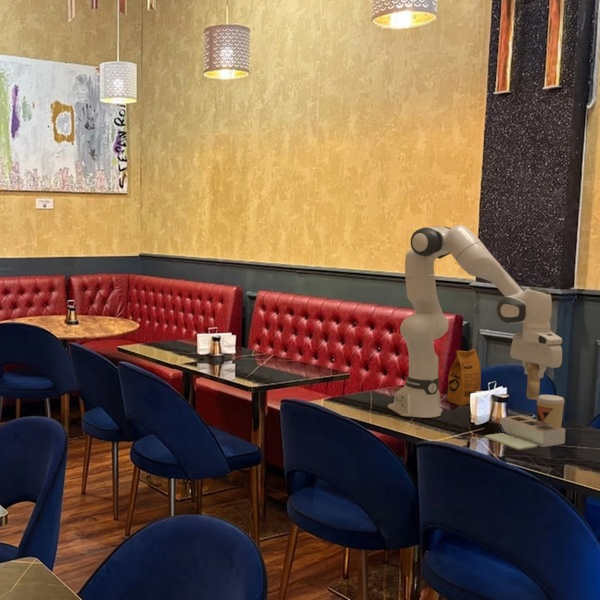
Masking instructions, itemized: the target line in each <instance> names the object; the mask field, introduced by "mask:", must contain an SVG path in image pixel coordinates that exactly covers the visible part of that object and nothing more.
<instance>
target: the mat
mask: <svg viewBox="0 0 600 600" xmlns="http://www.w3.org/2000/svg"><path fill="white" fill-rule="evenodd" d="M484 438H485V439H488V440H491V441H494V442H496V443H499V444H502V445H504V446H506V447H507V446H508V447H509V448H512V449H514V450H518V451H522V450H527V449H528V450H529V449H533V448H537V447H538V445H535V444H532V443H529V442H527V441H524V440H521V439H518V438H515V437H513V436H510V435H507V434H504V433H501V432H499V433H493V434H492V433H491V434H485V435H484Z"/></svg>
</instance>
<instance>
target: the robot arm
mask: <svg viewBox="0 0 600 600" xmlns="http://www.w3.org/2000/svg"><path fill="white" fill-rule="evenodd" d="M410 247H411V249H409V250H408V251H407V252H406V254H405V259H404V260H405V261H404V277H405V289H406V296H407V297H406V298H407V300H408V301H409V302H410V303H411V305H412V308H413V310H414V313H413V314H411V315H409V316H408V317H406V318H405V319H404V320H403V321H402V322H401V324H400V328H399V331H400V335H401V337H402V338H403V339H404V341H405V343H406V344H405V345H406V348H407V353H408V359H409V360H408V376H405V377H404V379H403V380H404V381H405V385H403V387H401V388H400V389H398V390H397V391H396V392H395V393H394V396H393V397H394V398H393V403H389V404H387V408H388V409H390V410H391V411H394V412H396V414H398V415H400V416H403V417H411V418H412V417H413V418H437V417H440V416H441V415H442V412H443V408H442V407H441V406H442V405H441V393H440V390H439V387H440V378H439V356H438V354H436V351H435V347H434V340H439V339H440V338H441V337H443V336H444V335H445V334H446V333H448V331H449V327H450V324H449V320H448V318H447V316H446V315H445V314H444V313H443V310H442V307H441V304H440V301H439V299H438V294H437V286H436V285H437V284H436V277H435V265H434V264H435V261H436V260H437V259H439V260H440V259H443V258H445V257H446V256H448V255H451V257H453V258H454V260H455V261H456V262H457V264H458V266H460V268H461V269H462V270H463V271H465V273H467V274H468V275H470V276H472V277H476V278H479V279H483V280H486V281H488V282H490V283H492V284H493V285H494V286H495V287H496V288H497V289H498V290H499V291H500V293H502V295H503V296H504V297H502V298H501V299H500V300H499V301H498V302H497V305H496V315H497V317H498V318H499V319H500V320H501V322H503V323H506V324H510V325H511V324H512V325H513V324H519V323H522V332H519V331H518V332H516V333H514V335H513V337H512V342H511V344H510V345H511V346H510V351H509V352H510V353H509V355H510V357H511V359H515V360H519V361H522V362H521V363H522V366H523V369H524V375H527V376H528V363H535V364H539V368H540V370H539V372H537V375H536V377H538V378H540V379H543V378H544V376H545V375H544V373H545V372H546V370H547V368H551V369H552V368H553V369H555V368H560V367H561V365H562V362H563V349H562V346H561V345H562V343H563V338H562V337H560V336H559V335H557V334H556V333H554V331H552V330H551V329H552V328H551V318H552V307H553V305H552V304H553V303H552V301H553V300H552V295H551V292H550V291H548V290H547V289H544V288H541V287H536V286H530V287H527V288H526V289H524V288H522V287H521V285H520V284H519V283H518V282H517V281H516V279H514V278H513V276H511V274H510V273H509V272H508V271H507V270H506V269H505V267H503V265H501V264H500V262H498V260H497V259H496V258H495V257H494V256H493V254H491V252H490V251H489V250H488V249H487V247H486V246H485V245H484V243H483V242H482V240H480V238H479V237H478V236H477V235H476V234H475V233H474V232H473V231H471V230H470V229H469V228H468V227H467V226H466V225H462V224H457V225H454V226H453V227H452V228H451V227H448V226H437V225H436V226H432V227H431V226H430V227H422V228H419V229H417V230H415V231H414V232H413V233H412V235H411V237H410Z"/></svg>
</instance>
